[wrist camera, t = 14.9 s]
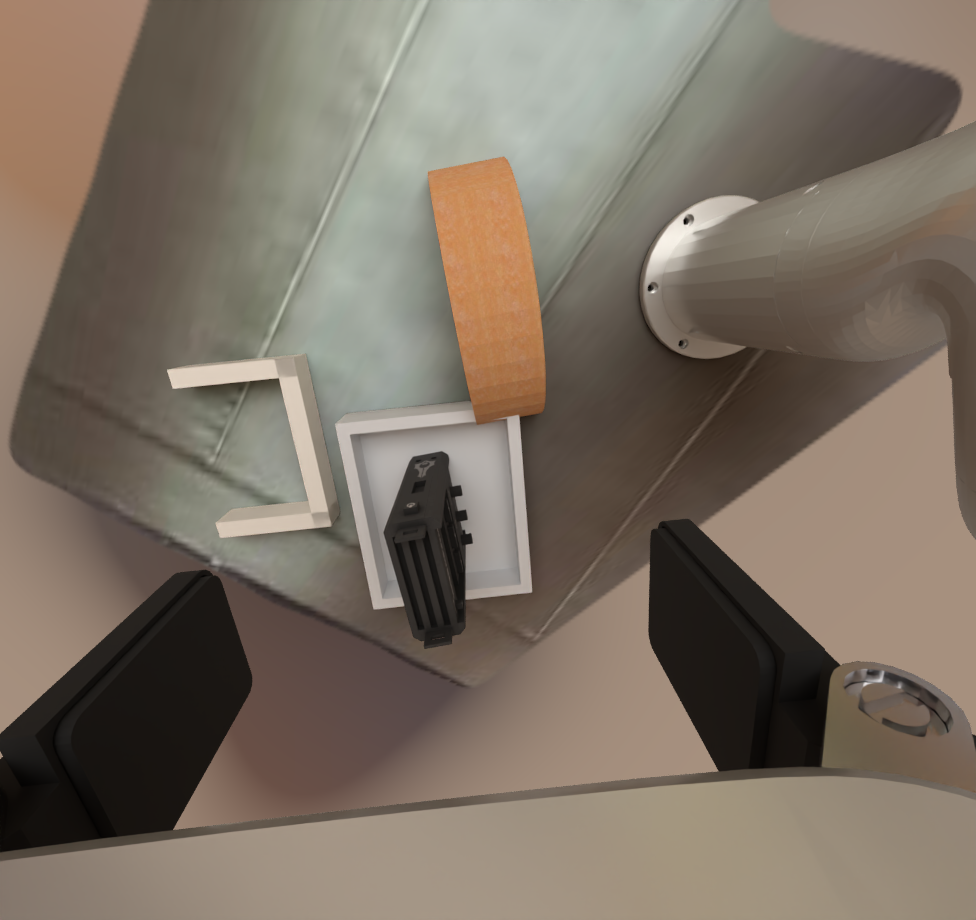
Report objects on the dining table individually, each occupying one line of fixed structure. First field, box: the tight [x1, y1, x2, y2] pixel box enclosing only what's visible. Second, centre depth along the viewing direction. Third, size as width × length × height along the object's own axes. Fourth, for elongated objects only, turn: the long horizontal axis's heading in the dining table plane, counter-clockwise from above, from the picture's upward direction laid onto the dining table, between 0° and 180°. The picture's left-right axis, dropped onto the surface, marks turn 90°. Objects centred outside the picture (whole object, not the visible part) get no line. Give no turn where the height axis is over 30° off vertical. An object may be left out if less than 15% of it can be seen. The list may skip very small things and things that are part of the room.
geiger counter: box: [383, 451, 473, 649], centre depth 36 cm, size 10×4×15 cm, turn 10°
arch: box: [428, 157, 546, 425], centre depth 34 cm, size 6×20×10 cm, turn 10°
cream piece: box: [167, 354, 340, 538], centre depth 40 cm, size 10×15×3 cm, turn 5°
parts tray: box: [335, 401, 532, 609], centre depth 42 cm, size 15×18×4 cm
